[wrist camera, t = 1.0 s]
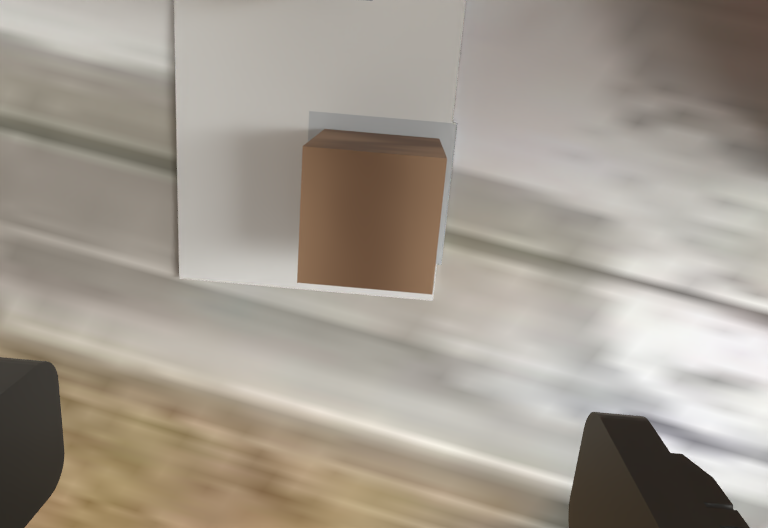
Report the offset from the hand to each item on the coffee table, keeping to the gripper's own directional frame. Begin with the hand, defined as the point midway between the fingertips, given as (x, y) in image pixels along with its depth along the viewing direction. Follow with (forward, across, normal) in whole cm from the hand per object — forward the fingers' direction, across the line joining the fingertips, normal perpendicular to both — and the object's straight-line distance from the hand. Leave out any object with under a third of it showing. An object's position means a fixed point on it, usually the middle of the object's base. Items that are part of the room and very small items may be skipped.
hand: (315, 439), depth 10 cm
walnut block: (+20, 0, 0) cm, 20 cm away
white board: (+20, +3, -6) cm, 21 cm away
